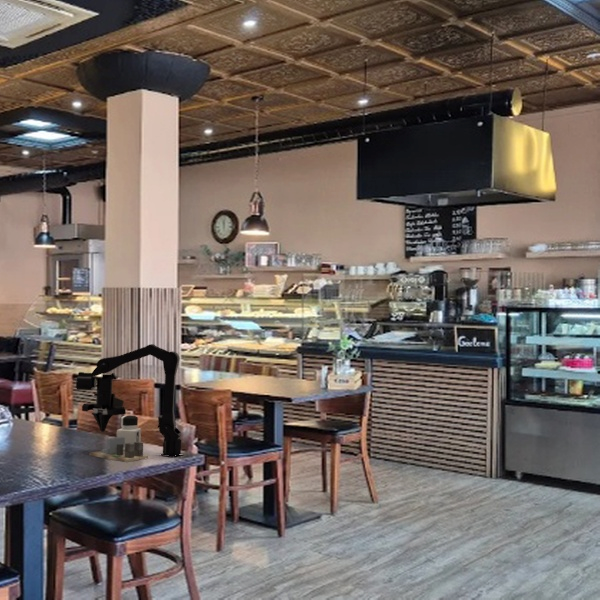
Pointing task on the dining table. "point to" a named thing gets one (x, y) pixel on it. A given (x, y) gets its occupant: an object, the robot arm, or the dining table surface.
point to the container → (129, 429)
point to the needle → (119, 449)
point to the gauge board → (125, 453)
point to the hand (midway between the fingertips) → (102, 431)
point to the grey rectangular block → (113, 445)
